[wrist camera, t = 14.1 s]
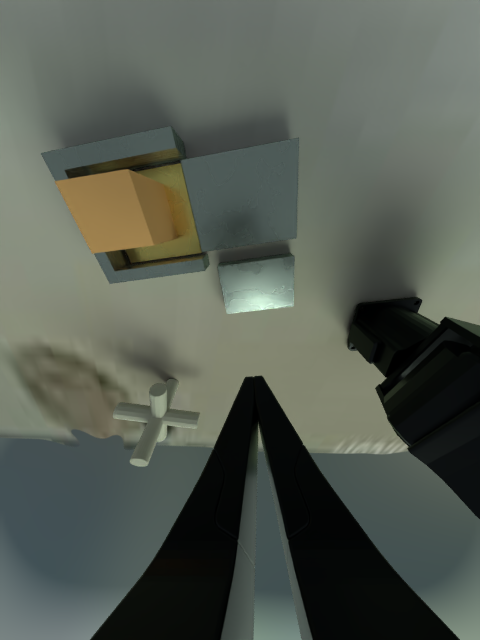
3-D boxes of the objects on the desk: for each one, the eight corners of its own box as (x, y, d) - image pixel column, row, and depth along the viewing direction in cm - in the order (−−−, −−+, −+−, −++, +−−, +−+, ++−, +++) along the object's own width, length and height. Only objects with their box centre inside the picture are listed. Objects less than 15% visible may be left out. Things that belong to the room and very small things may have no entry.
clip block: (127, 169, 10) (54, 181, 10) (154, 245, 12) (92, 253, 12) (163, 184, 14) (111, 192, 14) (177, 238, 16) (132, 244, 16)
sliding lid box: (291, 119, 12) (302, 98, 10) (290, 253, 17) (297, 258, 15) (72, 163, 14) (40, 153, 11) (125, 276, 18) (109, 283, 16)
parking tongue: (290, 253, 17) (294, 256, 15) (290, 300, 19) (293, 306, 18) (219, 263, 17) (217, 266, 16) (227, 307, 20) (226, 313, 18)
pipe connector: (136, 352, 23) (73, 430, 15) (209, 364, 24) (190, 444, 16) (141, 398, 28) (97, 476, 20) (202, 406, 29) (185, 485, 21)
